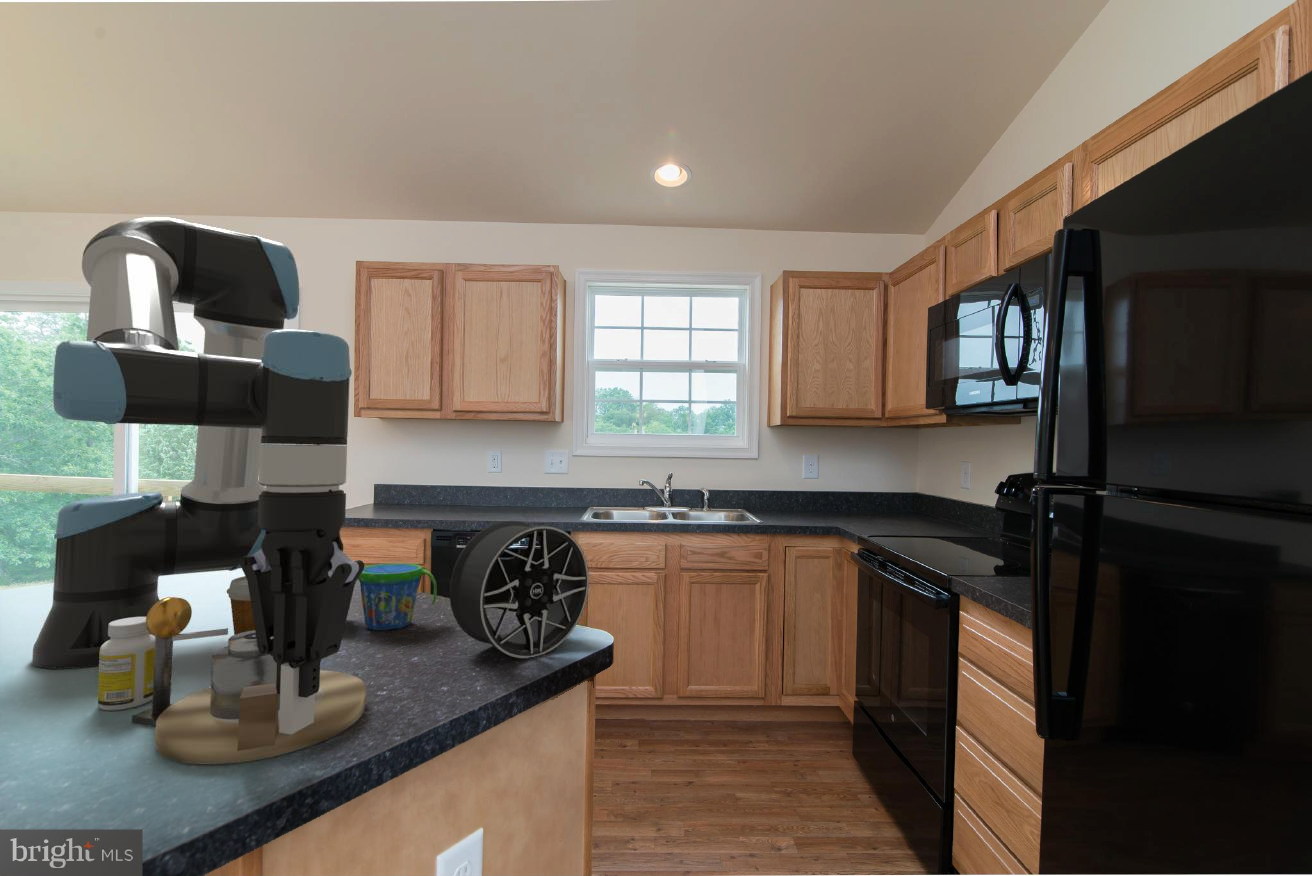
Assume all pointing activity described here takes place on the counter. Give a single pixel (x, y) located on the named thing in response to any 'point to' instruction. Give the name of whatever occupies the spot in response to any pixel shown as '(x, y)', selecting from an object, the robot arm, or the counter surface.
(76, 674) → the counter surface
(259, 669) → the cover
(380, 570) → the snack cup
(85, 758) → the counter surface
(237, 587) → the disposable coffee cup
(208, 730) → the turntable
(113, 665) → the supplement bottle
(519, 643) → the wheel rim
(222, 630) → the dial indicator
